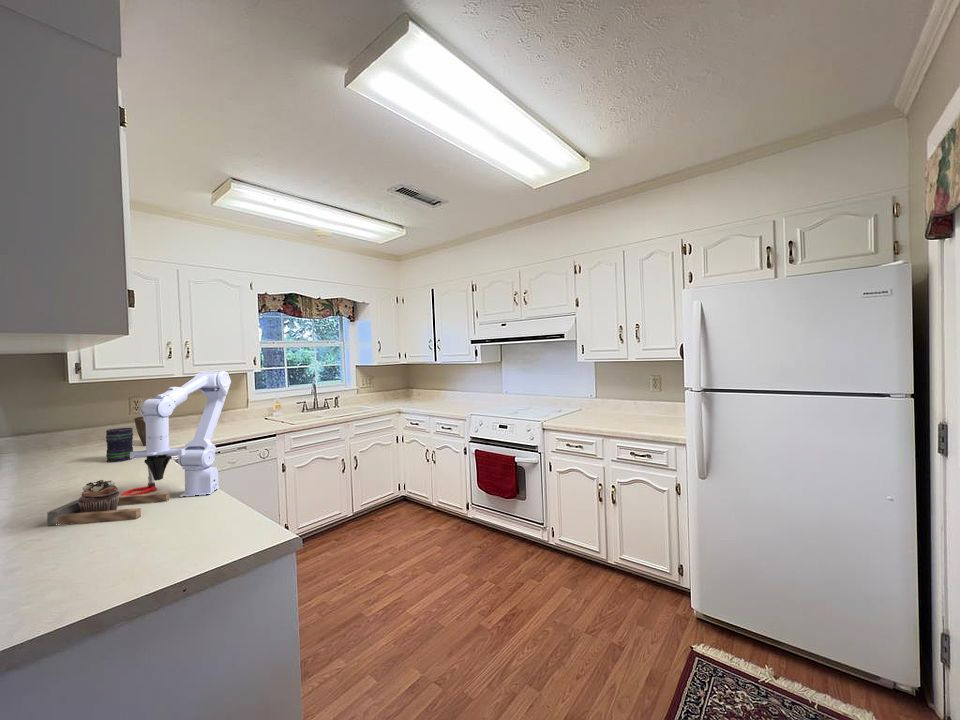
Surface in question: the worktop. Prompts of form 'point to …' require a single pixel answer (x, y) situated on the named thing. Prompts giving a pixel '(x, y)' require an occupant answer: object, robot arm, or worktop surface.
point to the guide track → (74, 515)
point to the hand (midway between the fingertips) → (158, 479)
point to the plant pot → (141, 429)
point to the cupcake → (99, 497)
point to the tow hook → (146, 489)
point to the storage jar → (119, 444)
